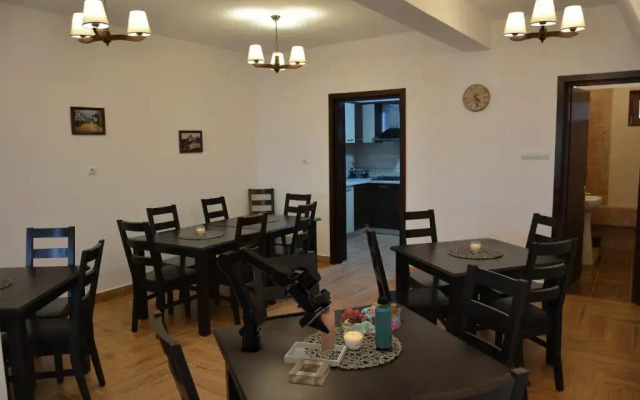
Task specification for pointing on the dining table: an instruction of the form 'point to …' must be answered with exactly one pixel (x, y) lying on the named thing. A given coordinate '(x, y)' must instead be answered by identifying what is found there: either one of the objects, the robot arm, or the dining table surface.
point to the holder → (309, 372)
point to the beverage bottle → (383, 324)
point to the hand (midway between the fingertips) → (331, 330)
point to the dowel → (329, 338)
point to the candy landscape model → (368, 318)
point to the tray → (299, 354)
